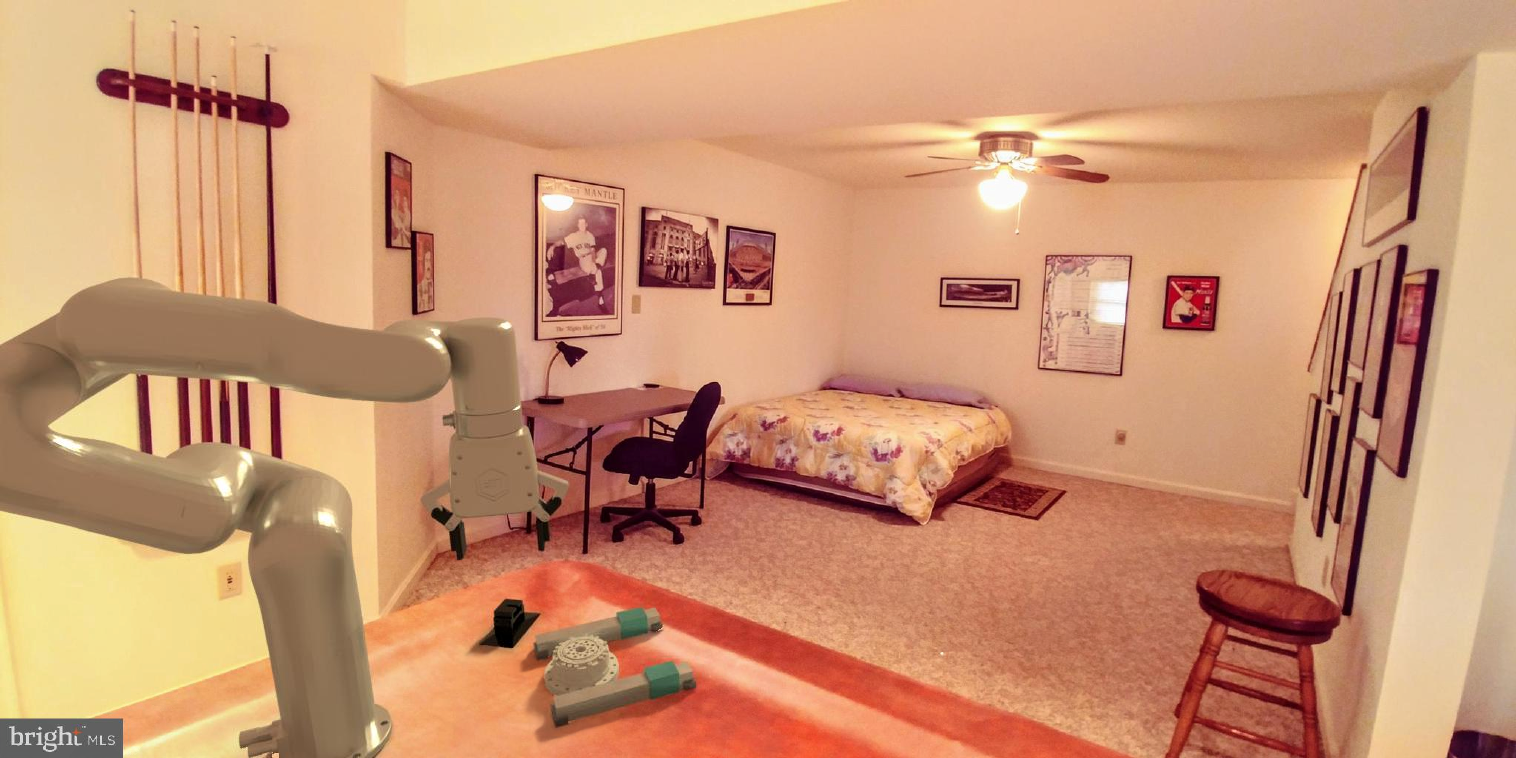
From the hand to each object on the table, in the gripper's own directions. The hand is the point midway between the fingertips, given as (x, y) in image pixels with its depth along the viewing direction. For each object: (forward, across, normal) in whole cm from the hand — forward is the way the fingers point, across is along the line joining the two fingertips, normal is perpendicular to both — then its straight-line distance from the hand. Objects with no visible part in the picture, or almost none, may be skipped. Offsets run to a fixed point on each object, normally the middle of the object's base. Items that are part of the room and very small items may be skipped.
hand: (502, 550), depth 93 cm
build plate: (+22, -2, +16) cm, 27 cm away
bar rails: (+21, +13, +3) cm, 25 cm away
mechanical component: (+21, +8, +2) cm, 23 cm away
